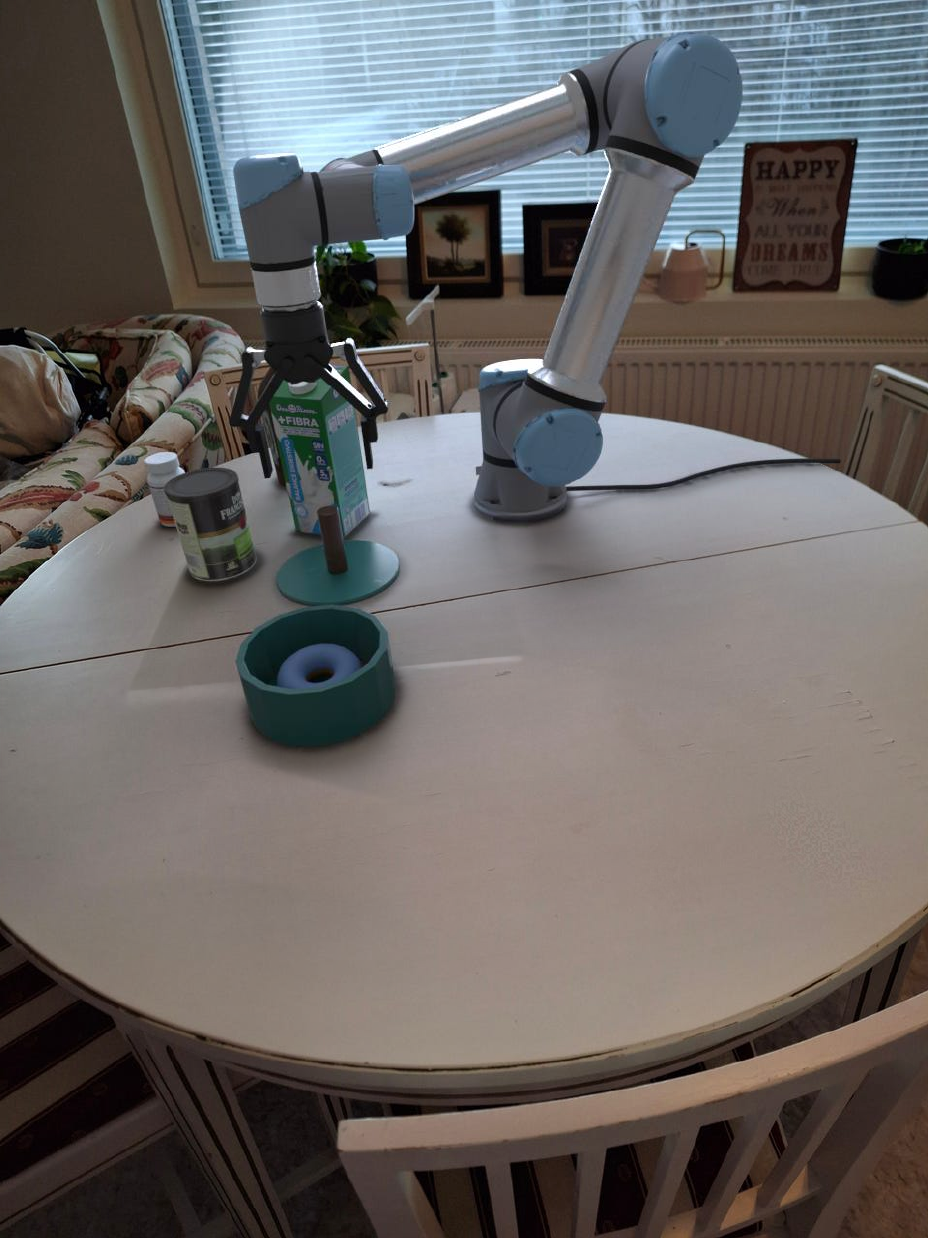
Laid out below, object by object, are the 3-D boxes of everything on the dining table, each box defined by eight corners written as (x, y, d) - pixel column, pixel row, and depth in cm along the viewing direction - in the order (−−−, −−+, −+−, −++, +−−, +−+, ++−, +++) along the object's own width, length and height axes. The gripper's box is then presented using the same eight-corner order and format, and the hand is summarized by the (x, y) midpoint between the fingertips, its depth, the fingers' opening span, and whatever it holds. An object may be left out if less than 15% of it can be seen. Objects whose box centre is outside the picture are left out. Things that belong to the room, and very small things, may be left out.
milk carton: (295, 533, 130) (263, 379, 116) (324, 509, 136) (297, 361, 122) (344, 540, 126) (317, 383, 112) (371, 515, 133) (348, 364, 119)
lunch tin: (395, 649, 101) (388, 599, 97) (394, 739, 87) (386, 685, 83) (262, 661, 101) (249, 611, 97) (240, 753, 87) (223, 700, 83)
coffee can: (268, 551, 125) (249, 467, 117) (240, 586, 117) (217, 497, 109) (208, 548, 127) (185, 465, 119) (176, 582, 119) (149, 495, 111)
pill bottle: (193, 508, 140) (176, 447, 134) (200, 522, 135) (182, 459, 129) (157, 517, 138) (138, 455, 132) (163, 531, 133) (143, 468, 127)
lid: (400, 541, 125) (392, 478, 119) (399, 603, 110) (390, 534, 104) (285, 552, 125) (272, 488, 119) (270, 615, 110) (253, 546, 104)
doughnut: (343, 729, 88) (337, 696, 86) (264, 714, 91) (256, 682, 89) (379, 674, 96) (374, 643, 94) (305, 663, 99) (299, 632, 97)
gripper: (394, 288, 99) (411, 450, 111) (192, 305, 99) (231, 466, 110) (394, 302, 93) (412, 472, 105) (178, 320, 92) (221, 489, 104)
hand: (319, 469), depth 108 cm, fingers open, 13 cm apart
